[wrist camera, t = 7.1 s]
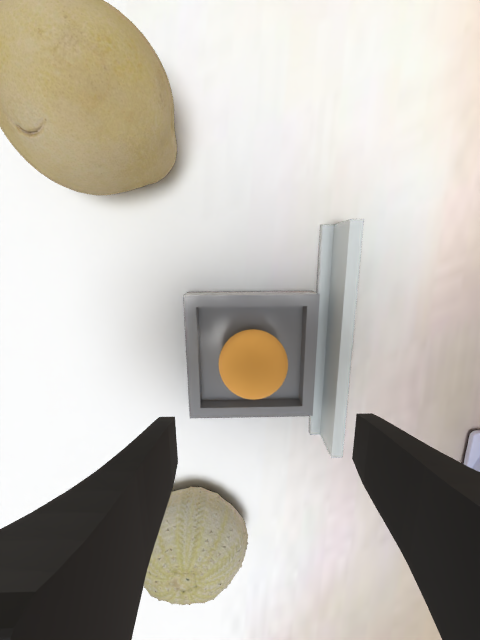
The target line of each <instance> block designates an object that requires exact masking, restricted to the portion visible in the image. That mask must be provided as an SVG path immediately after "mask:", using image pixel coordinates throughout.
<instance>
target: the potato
mask: <svg viewBox="0 0 480 640" xmlns="http://www.w3.org/2000/svg"><path fill="white" fill-rule="evenodd" d="M0 127H1V129H2V131H3V132H4V134H5V135H6V137H7V138H8V140H9V141H10V142H11V144H12V145H13V146H14V148H15V149H16V150H17V151H18V152H19V153H20V154H21V155H22V156H23V158H24V159H25V160H26V161H27V162H28V163H30V164H31V165H32V166H33V167H34V168H35V169H36V170H38V171H39V172H40V173H42V174H43V175H44V176H46V177H47V178H49V179H50V180H52V181H54V182H56V183H58V184H59V185H62V186H64V187H66V188H69V189H71V190H74V191H77V192H81V193H86V194H92V195H111V194H117V193H121V192H126V191H130V190H133V189H137V188H140V187H143V186H146V185H148V184H153V183H156V182H158V181H160V180H161V179H163V178H164V177H165V176H166V175H167V174H168V173H169V171H170V170H171V168H172V167H173V165H174V163H175V160H176V155H177V143H176V137H175V130H174V104H173V96H172V92H171V88H170V84H169V81H168V78H167V75H166V72H165V70H164V68H163V66H162V63H161V61H160V60H159V58H158V56H157V54H156V53H155V51H154V49H153V48H152V46H151V45H150V43H149V42H148V41H147V39H146V38H145V37H144V35H143V34H142V33H141V32H140V30H139V29H138V28H137V27H136V26H135V25H134V24H133V23H132V22H131V21H130V20H129V19H128V18H127V17H125V16H124V15H123V14H122V13H121V12H120V11H119V10H117V9H116V8H114V7H113V6H112V5H110V4H109V3H107V2H105V1H103V0H0Z"/></svg>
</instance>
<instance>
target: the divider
mask: <svg viewBox="0 0 480 640" xmlns="http://www.w3.org/2000/svg"><path fill="white" fill-rule="evenodd" d="M363 225H364V219H350V220H347V221H344V222H341V223H338V224H335V225H320V243H319V261H318V278H317V293H318V294H320V301H319V317H318V334H317V351H316V368H315V385H314V402H313V416H310V420H309V433H310V435H317V434H320V435H321V437H322V439H323V441H324V443H325V446H326V448H327V450H328V452H329V454H330V456H331V458H340V457H343V447H344V436H345V425H346V414H347V403H348V392H349V380H350V369H351V358H352V347H353V336H354V325H355V314H356V303H357V292H358V281H359V269H360V258H361V247H362V236H363Z"/></svg>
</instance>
